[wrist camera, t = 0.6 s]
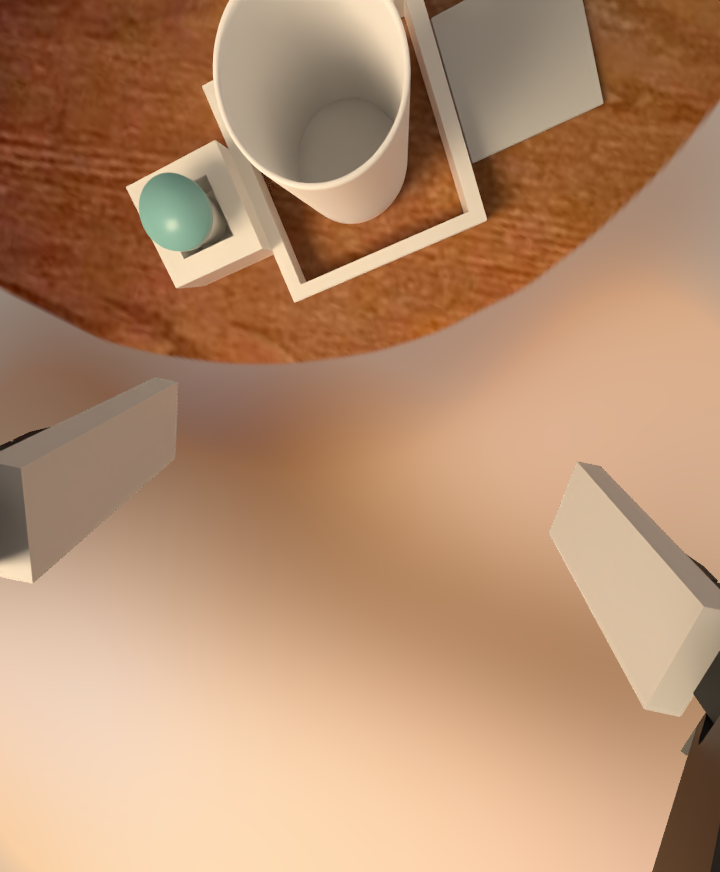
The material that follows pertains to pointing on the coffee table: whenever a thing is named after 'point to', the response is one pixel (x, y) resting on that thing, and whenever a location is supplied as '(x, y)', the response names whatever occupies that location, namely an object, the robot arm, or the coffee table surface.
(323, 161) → the cup
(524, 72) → the pad
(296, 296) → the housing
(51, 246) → the coffee table surface
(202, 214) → the mint mushroom button
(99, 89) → the coffee table surface
